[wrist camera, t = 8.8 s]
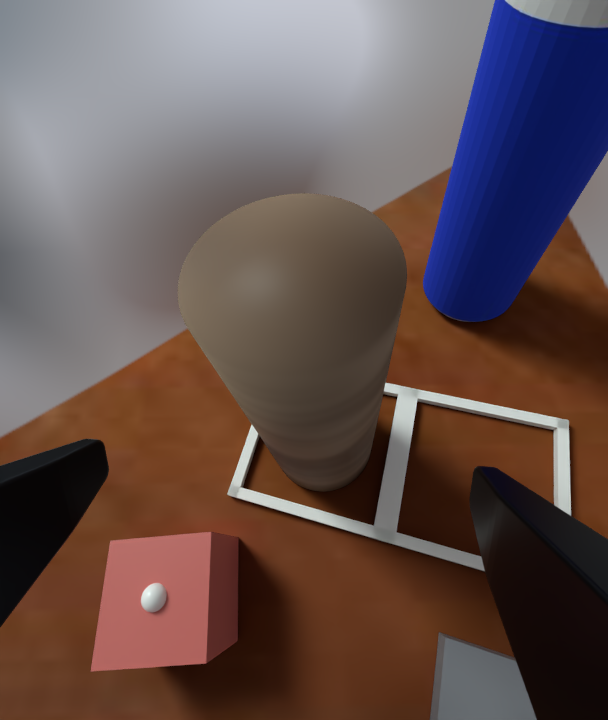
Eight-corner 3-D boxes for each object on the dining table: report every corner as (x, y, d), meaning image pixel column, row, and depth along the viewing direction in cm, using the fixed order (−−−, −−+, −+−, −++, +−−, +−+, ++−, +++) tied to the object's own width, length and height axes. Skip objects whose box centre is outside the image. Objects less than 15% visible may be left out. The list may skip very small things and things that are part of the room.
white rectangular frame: (568, 596, 16) (573, 597, 15) (229, 496, 19) (227, 494, 19) (564, 422, 19) (568, 420, 18) (275, 363, 22) (274, 360, 22)
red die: (237, 641, 16) (201, 666, 12) (146, 647, 16) (82, 674, 12) (238, 537, 18) (207, 531, 14) (156, 544, 18) (103, 540, 14)
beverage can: (508, 261, 24) (706, -114, 11) (514, 331, 21) (775, -34, 8) (422, 256, 25) (505, -93, 11) (419, 323, 22) (519, -18, 9)
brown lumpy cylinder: (361, 503, 18) (386, 397, 7) (262, 477, 19) (138, 347, 8) (379, 406, 20) (420, 203, 9) (289, 388, 21) (223, 185, 10)
